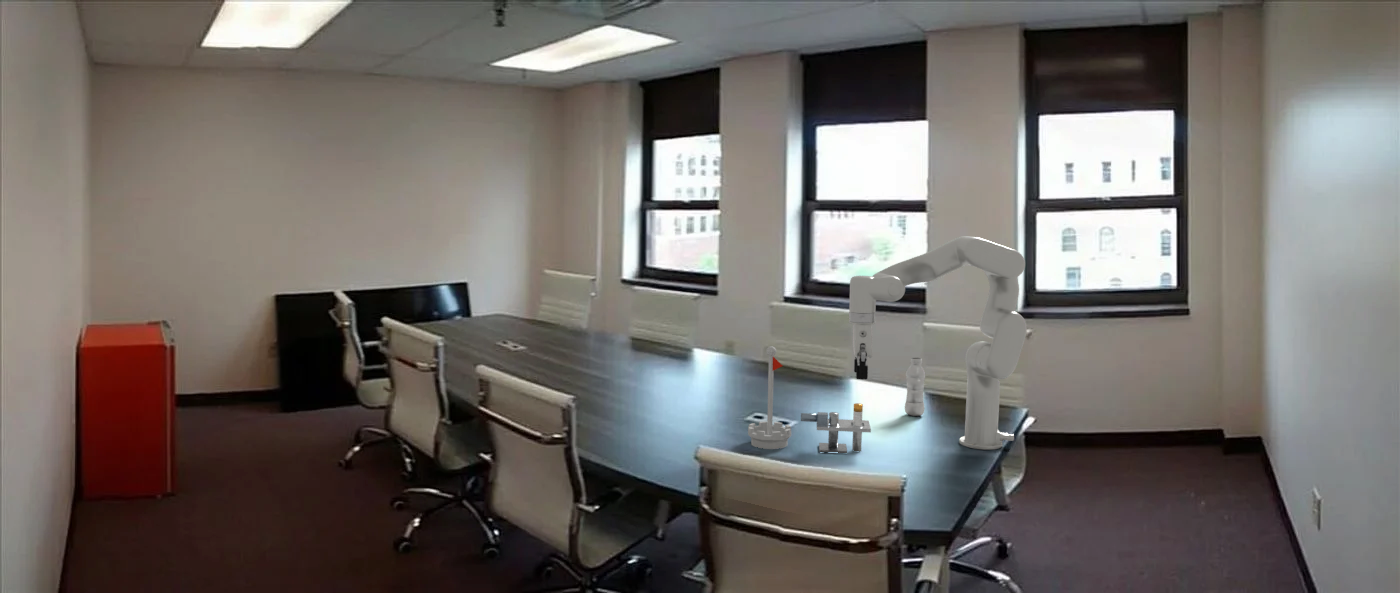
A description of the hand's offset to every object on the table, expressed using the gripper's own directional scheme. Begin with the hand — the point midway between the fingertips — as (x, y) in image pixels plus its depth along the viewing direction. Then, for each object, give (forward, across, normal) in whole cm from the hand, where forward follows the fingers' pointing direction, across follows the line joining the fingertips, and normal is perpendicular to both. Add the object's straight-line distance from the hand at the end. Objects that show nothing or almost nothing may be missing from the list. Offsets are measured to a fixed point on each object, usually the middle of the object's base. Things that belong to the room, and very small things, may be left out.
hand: (860, 375), depth 262 cm
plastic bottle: (+23, +46, -22) cm, 56 cm away
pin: (+22, -1, +1) cm, 22 cm away
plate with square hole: (+22, -1, +8) cm, 24 cm away
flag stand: (+22, +2, +27) cm, 35 cm away
